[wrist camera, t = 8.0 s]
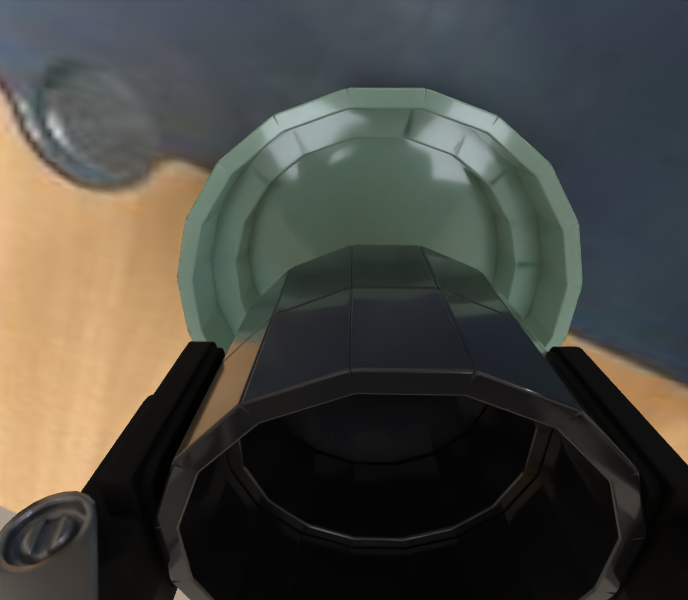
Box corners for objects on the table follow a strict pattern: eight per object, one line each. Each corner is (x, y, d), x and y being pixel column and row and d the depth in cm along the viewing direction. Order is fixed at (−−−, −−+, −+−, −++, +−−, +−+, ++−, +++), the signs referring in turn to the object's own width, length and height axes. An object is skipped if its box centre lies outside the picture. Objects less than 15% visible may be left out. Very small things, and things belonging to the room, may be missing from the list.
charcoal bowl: (222, 234, 9) (97, 364, 5) (548, 238, 9) (737, 375, 5) (253, 464, 13) (198, 667, 8) (492, 469, 12) (571, 678, 8)
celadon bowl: (197, 88, 14) (136, 86, 10) (562, 89, 14) (643, 88, 10) (239, 377, 20) (211, 446, 16) (497, 382, 20) (532, 453, 16)
